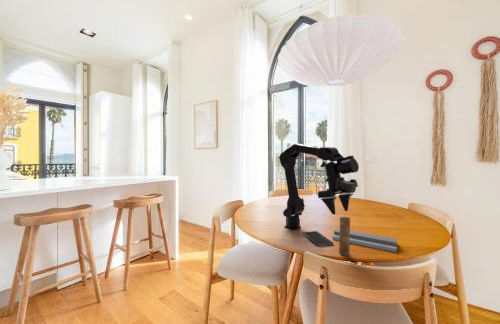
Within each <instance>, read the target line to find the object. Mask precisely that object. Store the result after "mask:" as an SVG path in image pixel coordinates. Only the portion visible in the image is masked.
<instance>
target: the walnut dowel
mask: <svg viewBox="0 0 500 324" xmlns="http://www.w3.org/2000/svg"><path fill="white" fill-rule="evenodd" d="M339 229H340V240H339V241H338V242H339V244H338V251H339V252H338V254H339V255H340V256H343V257H344V256H345V257H348V256H350V244H351V243H350V230H351V217H348V216H340V217H339Z"/></svg>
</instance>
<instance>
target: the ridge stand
mask: <svg viewBox="0 0 500 324" xmlns="http://www.w3.org/2000/svg"><path fill="white" fill-rule="evenodd" d="M332 240H333V241H334V240H335V241H338V242H339V240H340V227H339V228H338V227H336V228H335V229H334V230H333V235H332ZM397 241H398V239H397V238H395V237H388V236H383V235H378V234H374V233H373V234H372V233H366V232H363V231H362V232H361V231H354V230H351V229H350V244H353V245H359V246H362V247H369V248H372V249H377V250H382V251H388V252H392V253H397V247H398V246H397Z"/></svg>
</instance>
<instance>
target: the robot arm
mask: <svg viewBox="0 0 500 324" xmlns="http://www.w3.org/2000/svg"><path fill="white" fill-rule="evenodd" d="M300 154H307V155H311V156H315V157H316V158H318V159H319V160H320V159H321V160H322V163H321V164H320V166H319V167H320V168H324V170H325V175H326V179H324V180H325V183H327V186H328V188H326V190H318V192H317V198H318V199H320V201H322V203H323V204H325V206H326V207H327V208H328V210H329V212H330V213H331V214H332V215H336V205H335V200H336V199H337V196H338V198H339V200H340V202H341V203H340V204H341V205H342V208H343V210H344V211H345V212H348V211H349V204H350V199H351V197H352V196H354V193H356V189H357V188H358V187H359V185H358V182H357V179H354V178H352V179H349V180H345V177H344V176H341V174H342V175H348V174H353V173H358V172H359V162H357V160H356V159H355V156H354V155H347V156H345V157H344V156H343V155H342V154H341V153H340V152H339V150H338V148H336V147H333V146H332V147H331V146H330V147H326V146H323V147H321V146H320V147H318V146H311V145H305V144H301V143H294V144H292V145H291V146H290V147H288V148H287V149H285V150H284V151H283V152H281V153H280V154H279V156H278V157H279V158H278V159H279V162H280V163H279V164H280V165H281V167H282V168H283V169H284V173H285V174H284V176H285V181H286V182H285V183H286V186H287V193H288V197H287V198H288V199H287V202H286V208H285V209H284V210H283V211H282V214H283V216H284V217H285V225H284V226H283V227H284V228H286V229H290V230H291V231H292V230H293V231H295V230H297V229H300V228H301V227H302V226H301V224H300V223H301V219H300V216H302V214H303V213H304V210H305V207H306V205H305V200H304V198H301V196H299V190H298V184H297V178H296V172H295V166H296V163H297V158H299V156H300ZM336 195H337V196H336Z"/></svg>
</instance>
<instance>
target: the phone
mask: <svg viewBox="0 0 500 324" xmlns="http://www.w3.org/2000/svg"><path fill="white" fill-rule="evenodd" d="M302 235H303V236H304V237H305V238H306V239H307V240H308V241H310V242H311V243H312V244H314V245H315V247H329V246H331V247H332V246H334V242H333V241H332V240H330V239H329V238H327V237H326V236H324V235H323V234H321V233H320V232H319V231H317V230H316V231H315V230H314V231H303V232H302Z"/></svg>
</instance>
